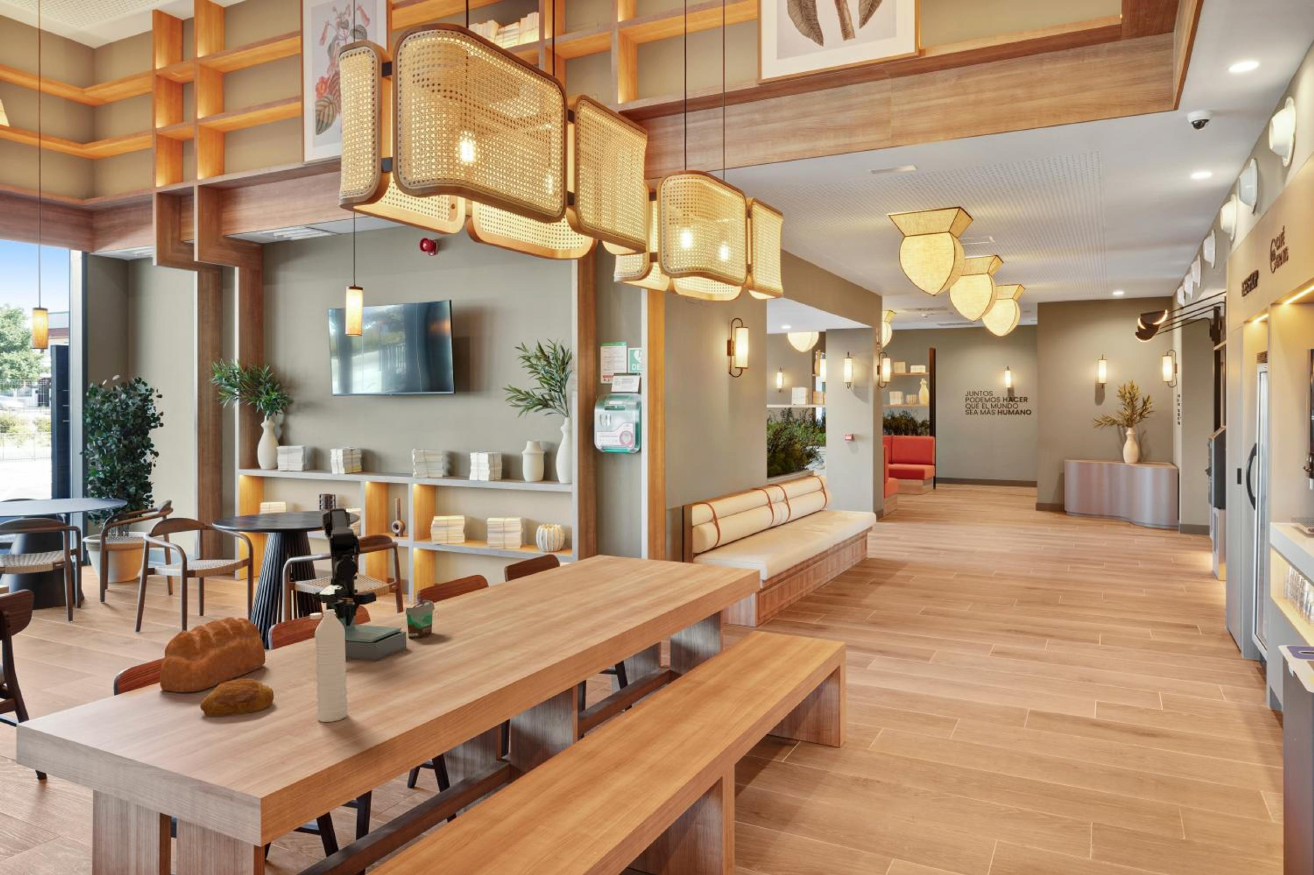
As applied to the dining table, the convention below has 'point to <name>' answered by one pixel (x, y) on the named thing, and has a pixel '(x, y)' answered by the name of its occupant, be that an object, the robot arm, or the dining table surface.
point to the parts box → (376, 647)
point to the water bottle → (330, 667)
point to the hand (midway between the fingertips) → (345, 625)
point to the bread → (211, 655)
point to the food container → (420, 620)
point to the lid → (366, 631)
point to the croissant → (237, 698)
